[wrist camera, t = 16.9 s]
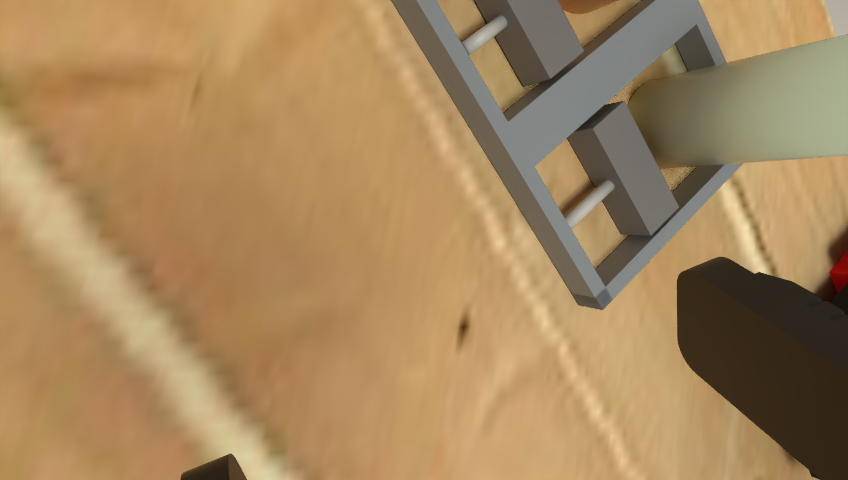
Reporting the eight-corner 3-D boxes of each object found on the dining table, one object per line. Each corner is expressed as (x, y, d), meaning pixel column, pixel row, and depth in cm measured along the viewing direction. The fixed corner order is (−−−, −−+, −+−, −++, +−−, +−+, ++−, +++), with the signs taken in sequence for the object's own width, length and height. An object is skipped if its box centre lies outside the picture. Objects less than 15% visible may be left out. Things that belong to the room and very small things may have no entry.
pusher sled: (415, -10, 34) (436, -26, 32) (490, -61, 36) (516, -80, 34) (489, 114, 37) (514, 108, 34) (556, 60, 39) (584, 51, 36)
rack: (378, -21, 34) (398, -38, 31) (592, -161, 39) (622, -184, 37) (578, 305, 41) (607, 310, 38) (734, 145, 46) (767, 142, 44)
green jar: (611, 111, 41) (854, 65, 28) (666, 63, 43) (917, -3, 30) (650, 186, 43) (896, 176, 29) (701, 136, 45) (953, 106, 31)
